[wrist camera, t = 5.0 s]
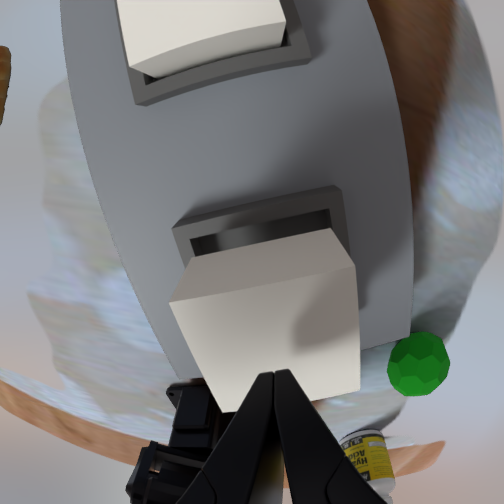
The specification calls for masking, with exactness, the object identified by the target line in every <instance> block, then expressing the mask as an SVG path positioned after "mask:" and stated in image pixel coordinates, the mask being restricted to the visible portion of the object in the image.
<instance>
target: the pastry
mask: <svg viewBox="0 0 504 504" xmlns="http://www.w3.org/2000/svg"><path fill="white" fill-rule="evenodd" d="M10 77H11V53H10V51H9V49H8V48H7V47H5V46H0V125H1V124H2V120H3V114H4V110H5V108H4V106H5V102H6V98H7V96H8V95H7V91H8V88H9V82H10Z"/></svg>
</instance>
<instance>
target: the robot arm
mask: <svg viewBox="0 0 504 504" xmlns="http://www.w3.org/2000/svg"><path fill="white" fill-rule="evenodd" d="M166 395H167V396H168V398H169V399H170V401H171V402H172V404H173V405H174V407H175V408H176V414H175V417H174V421H173V425H172V427H173V429H172V433H171V436H170V440H169V444H168V446H165V445H161V444H158V442H155V441H152V440H151V442H150V445H149V446H148V447H142V449H141V452H140V455H139V459H138V462H137V464H136V467H135V469H134V471H133V473H132V475H131V477H130V479H129V481H128V483H127V485H126V492H127V494H128V495H129V497H130V498H131V499H130V503H131V504H282V496H283V481H284V463H285V468H286V473H287V478H288V483H289V488H290V493H291V498H292V503H293V504H388V503H387V502H386V501H385V500H384V499H383V498H382V497H381V496H380V495H379V494H378V493H377V492H376V491H375V490H374V489H373V488H372V487H371V486H370V485H369V484H368V482H367V481H366V480H365V479H364V478H363V476H362V475H361V474H360V472H359V471H358V470H357V468H356V467H355V466H354V464H353V463H352V462H351V460H350V459H349V457H348V456H346V453H345V452H344V450H343V449H342V447H341V446H340V444H339V443H338V442H337V440H336V439H335V437H334V436H333V434H332V433H331V431H330V430H329V428H328V427H327V425H326V424H325V422H324V421H323V419H322V418H321V416H320V415H319V413H318V412H317V410H316V409H315V407H314V406H313V404H312V403H311V401H310V400H309V398H308V397H307V395H306V394H305V392H304V391H303V389H302V388H301V386H300V384H299V383H298V381H297V380H296V378H295V377H294V375H293V374H292V372H291V371H290V369H281V370H276V371H275V372H273V371H269V372H263V373H259V374H258V376H257V377H256V379H255V381H254V383H253V384H252V386H251V388H250V390H249V391H248V393H247V395H246V397H245V398H244V400H243V402H242V404H241V405H240V407H239V409H238V410H237V411H235V412H222V411H221V409H220V407H219V405H218V403H217V402H216V400H215V398H214V396H213V394H212V392H211V390H210V388H209V387H208V385H199V386H185V387H169V388H167V391H166ZM155 470H157V471H160V472H159V473H158V472H155Z"/></svg>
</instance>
